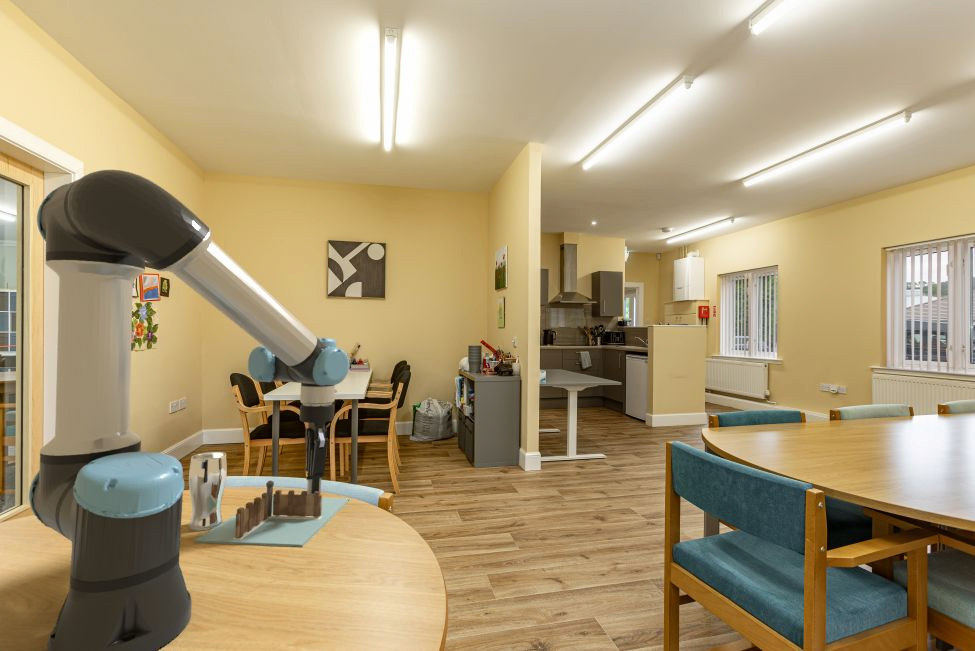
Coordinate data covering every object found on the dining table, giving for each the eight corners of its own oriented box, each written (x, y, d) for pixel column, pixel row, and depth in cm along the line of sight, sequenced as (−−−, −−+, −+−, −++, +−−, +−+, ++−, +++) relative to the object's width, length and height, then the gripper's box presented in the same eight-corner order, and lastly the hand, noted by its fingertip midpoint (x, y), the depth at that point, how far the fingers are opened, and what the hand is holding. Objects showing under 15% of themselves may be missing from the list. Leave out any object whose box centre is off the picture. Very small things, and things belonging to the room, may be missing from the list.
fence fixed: (240, 541, 88) (242, 499, 88) (232, 541, 88) (234, 499, 88) (274, 516, 101) (275, 479, 101) (267, 516, 101) (268, 479, 101)
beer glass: (211, 532, 92) (214, 460, 93) (178, 531, 92) (182, 459, 93) (231, 519, 99) (234, 451, 100) (200, 518, 99) (204, 451, 100)
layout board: (302, 546, 86) (302, 544, 86) (194, 542, 87) (194, 539, 87) (349, 500, 112) (349, 498, 112) (265, 497, 113) (265, 495, 113)
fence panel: (272, 515, 100) (273, 491, 100) (274, 513, 100) (275, 489, 101) (319, 517, 99) (320, 492, 99) (321, 515, 100) (322, 491, 100)
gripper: (341, 406, 99) (337, 512, 98) (327, 399, 110) (323, 494, 109) (306, 408, 95) (301, 518, 94) (295, 400, 106) (290, 499, 105)
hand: (313, 505), depth 102 cm, fingers closed
